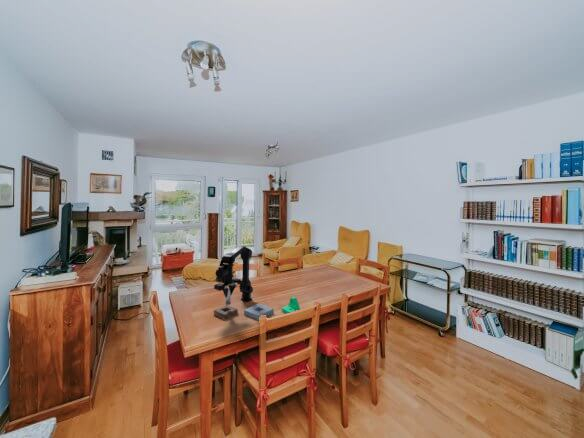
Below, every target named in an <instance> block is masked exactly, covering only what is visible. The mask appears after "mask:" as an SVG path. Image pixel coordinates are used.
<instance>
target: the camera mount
mask: <svg viewBox="0 0 584 438" xmlns="http://www.w3.org/2000/svg"><path fill="white" fill-rule="evenodd" d="M300 309H301V307H300V305H299V301H298V298H297V297H296V296H293V297H290V298H289V303H288V304H287V305H285V306H282V307H281V311H282V312H284V314H285V313H290V312H293V311H296V310H300Z"/></svg>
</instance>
